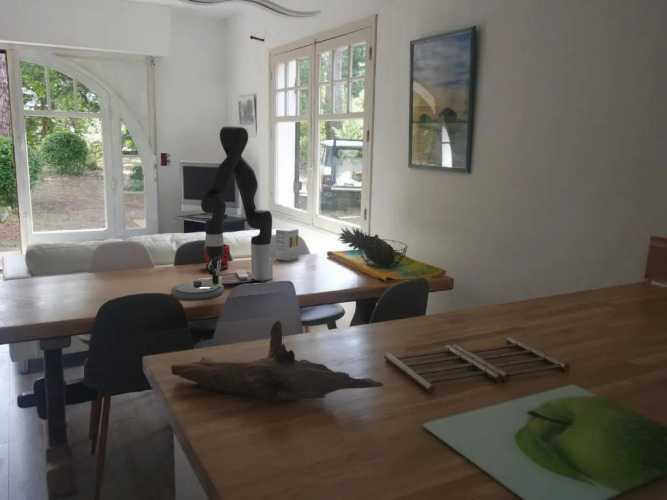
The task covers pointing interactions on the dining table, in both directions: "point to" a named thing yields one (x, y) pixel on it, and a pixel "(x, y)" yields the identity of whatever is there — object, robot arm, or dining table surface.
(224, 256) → the plant pot
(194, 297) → the dial base
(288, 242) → the supplement box
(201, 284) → the dial
